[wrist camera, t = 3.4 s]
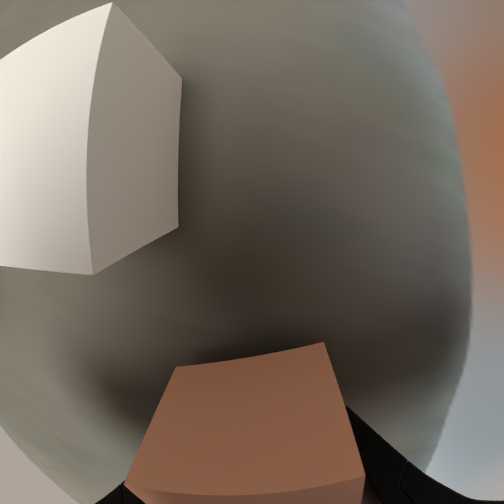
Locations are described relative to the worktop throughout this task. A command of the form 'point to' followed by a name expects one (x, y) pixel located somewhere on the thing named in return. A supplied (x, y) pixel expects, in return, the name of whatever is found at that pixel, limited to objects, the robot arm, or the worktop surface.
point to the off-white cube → (86, 145)
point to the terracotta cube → (251, 435)
